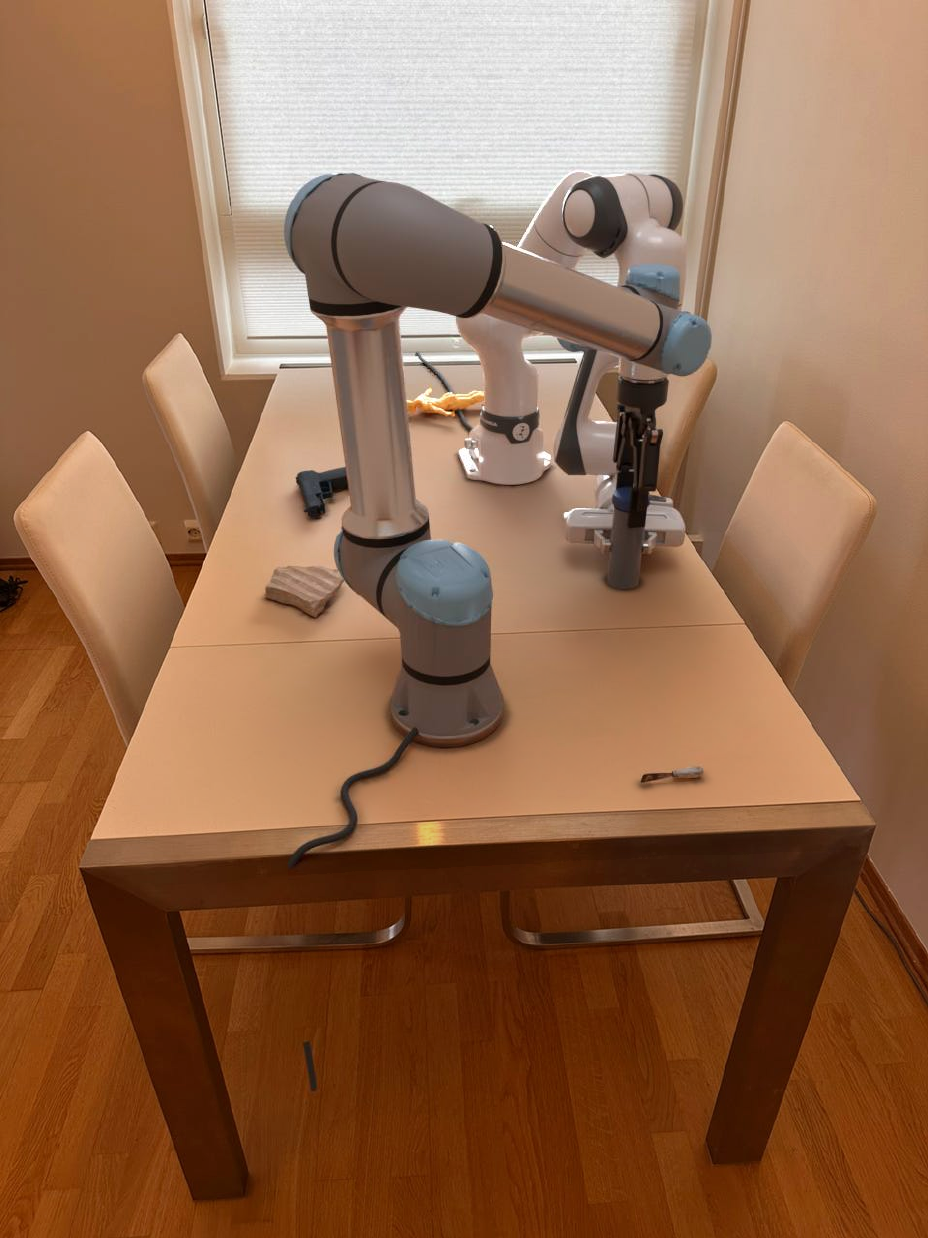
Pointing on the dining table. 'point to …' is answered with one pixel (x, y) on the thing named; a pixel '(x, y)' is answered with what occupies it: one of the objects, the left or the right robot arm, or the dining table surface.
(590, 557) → the dining table surface
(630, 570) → the grey tall cylinder
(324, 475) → the handgun
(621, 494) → the lid
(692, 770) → the putty knife
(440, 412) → the human figure
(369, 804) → the dining table surface
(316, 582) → the stone
